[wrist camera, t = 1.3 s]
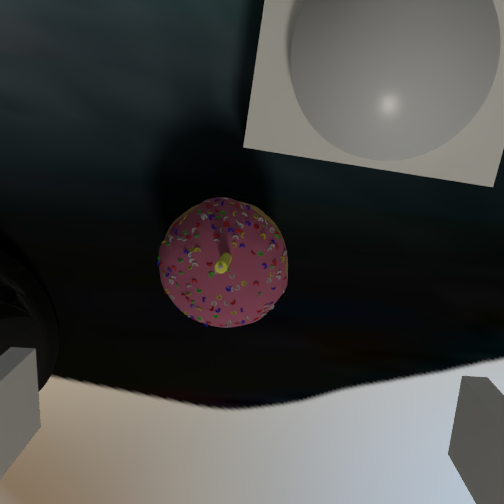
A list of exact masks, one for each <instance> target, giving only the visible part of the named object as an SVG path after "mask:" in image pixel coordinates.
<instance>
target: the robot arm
mask: <svg viewBox="0 0 504 504" xmlns="http://www.w3.org/2000/svg"><path fill="white" fill-rule="evenodd" d="M58 351H59V330H58V324H57V319H56V315H55V312H54V309H53V307H52V304H51V302H50V300H49V298H48V296H47V294H46V292H45V291H44V289H43V288H42V286H41V285H40V283H39V282H38V281H37V279H36V278H35V277H34V276H33V275H32V273H31V272H30V271H29V270H28V269H27V268H26V267H25V266H23V265H22V264H21V263H20V262H19V261H17V260H16V259H15V258H14V257H12V256H11V255H9V254H8V253H6V252H4V251H3V250H1V249H0V479H1V478H2V476H3V475H4V474H5V472H6V471H7V470H8V468H9V467H10V466H11V465H12V463H13V462H14V461H15V459H16V458H17V457H18V455H19V454H20V453H21V452H22V450H23V449H24V448H25V446H26V445H27V444H28V442H29V441H30V440H31V439H32V437H33V436H34V435H35V433H36V432H37V431H38V429H39V428H40V426H41V425H40V410H39V394H38V392H39V391H40V390H41V389H42V388H43V386H44V385H45V384H46V382H47V380H48V379H49V378H50V376H51V374H52V372H53V370H54V367H55V364H56V361H57V357H58ZM448 455H449V456H450V458H451V460H452V462H453V464H454V465H455V467H456V469H457V471H458V472H459V474H460V476H461V478H462V479H463V481H464V483H465V485H466V487H467V488H468V490H469V492H470V494H471V495H472V497H473V499H474V501H475V503H476V504H504V395H503V394H502V393H501V392H500V391H499V390H498V389H497V387H496V386H495V385H494V384H493V383H492V382H491V381H490V380H489V379H488V378H487V377H471V376H462V380H461V385H460V392H459V397H458V402H457V407H456V413H455V418H454V424H453V429H452V435H451V441H450V446H449V452H448Z"/></svg>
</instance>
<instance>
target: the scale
mask: <svg viewBox="0 0 504 504" xmlns="http://www.w3.org/2000/svg"><path fill="white" fill-rule="evenodd" d="M243 147H244V148H250V149H257V150H263V151H269V152H275V153H282V154H288V155H294V156H300V157H307V158H313V159H319V160H326V161H332V162H338V163H344V164H351V165H357V166H363V167H370V168H376V169H382V170H388V171H395V172H401V173H407V174H414V175H420V176H426V177H432V178H439V179H445V180H451V181H458V182H464V183H470V184H476V185H483V186H489V187H493V185H494V181H495V177H496V174H497V170H498V167H499V163H500V159H501V156H502V152H503V149H504V0H265V1H264V8H263V15H262V22H261V29H260V36H259V42H258V49H257V56H256V63H255V70H254V77H253V84H252V91H251V97H250V104H249V111H248V118H247V125H246V132H245V139H244V146H243Z"/></svg>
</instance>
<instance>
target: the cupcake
mask: <svg viewBox="0 0 504 504" xmlns="http://www.w3.org/2000/svg"><path fill="white" fill-rule="evenodd" d="M158 260H159V261H157V264H158V266H159V270H160V277H161V282H162V285H163V287H164V289H165V291H164V292H165V293H166V294H168V296H169V297H170V298H171V300H172V301H173V303H174V304H175V305H176V306H177V307H178V308H177V309H179V310H181V311H182V312H183V313H184V314H186V315H188V316H187V317H191V318H192V319H193V320H195V321H199V322H202V323H204V325H205V326H206V327H207V326H208V325H212V326H217V327H236V326H241V325H245V324H250V323H253V322H256V321H258V320H259V319H261V318H262V317H263V316H264V315H266V313H267V312H268V311H269V310H270V309H273V308H274V304H275V303H276V301H277V300H278V299H279V297H280V296H281V295H282V293H284V290H285V288H286V286H287V277H288V259H287V251H286V246H285V242H284V239H283V237H282V235H281V232H280V231H279V229H278V227H277V226H276V224H275V223H274V222H273V221H272V220H271V219H270V218H269V217H268V216H267V215H266V214H265V213H264V212H263V211H261V210H260V209H259V208H258V207H256V206H254V205H251V204H248V203H244V202H240V201H236V200H234V199H231V198H226V197H217V198H210V199H207V200H205V201H203V202H202V203H201V204H199V205H196V206H194V207H192V208H190V209H189V210H187V211H186V212H185V213H184V214H182V215H181V216H180V217H178V218H177V219H176V220H175V221H174V222H173V223H172V225H171V226H170V228H169V230H168V232H167V234H166V237H165V240H164V241H163V242H162V244H161V246H160V249H159V256H158ZM158 262H159V263H158ZM272 306H273V307H272ZM206 324H207V325H206Z"/></svg>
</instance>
